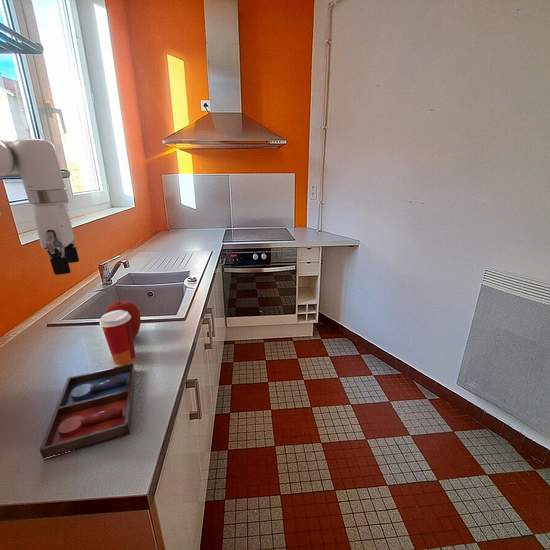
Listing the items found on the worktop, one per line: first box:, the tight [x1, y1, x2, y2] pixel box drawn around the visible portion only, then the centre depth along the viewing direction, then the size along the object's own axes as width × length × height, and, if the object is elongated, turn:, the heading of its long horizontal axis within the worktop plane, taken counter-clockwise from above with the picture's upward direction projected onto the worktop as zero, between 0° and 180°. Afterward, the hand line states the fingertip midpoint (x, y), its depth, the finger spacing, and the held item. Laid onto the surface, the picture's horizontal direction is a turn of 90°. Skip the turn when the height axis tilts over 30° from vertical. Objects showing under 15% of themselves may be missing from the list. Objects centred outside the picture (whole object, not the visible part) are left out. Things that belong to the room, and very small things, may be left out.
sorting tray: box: [39, 362, 136, 459], centre depth 68 cm, size 15×22×3 cm
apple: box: [104, 298, 142, 339], centre depth 94 cm, size 10×10×14 cm
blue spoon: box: [71, 377, 126, 401], centre depth 73 cm, size 12×4×2 cm, turn 111°
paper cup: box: [99, 310, 136, 366], centre depth 84 cm, size 8×8×14 cm
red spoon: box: [58, 407, 123, 437], centre depth 64 cm, size 12×4×2 cm, turn 111°
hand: (67, 267), depth 75 cm, fingers open, 9 cm apart
